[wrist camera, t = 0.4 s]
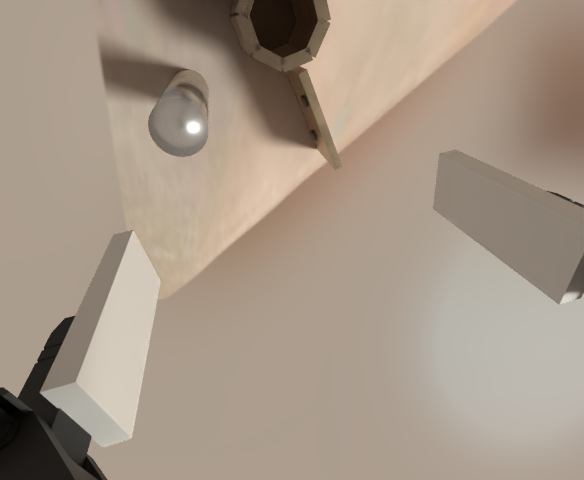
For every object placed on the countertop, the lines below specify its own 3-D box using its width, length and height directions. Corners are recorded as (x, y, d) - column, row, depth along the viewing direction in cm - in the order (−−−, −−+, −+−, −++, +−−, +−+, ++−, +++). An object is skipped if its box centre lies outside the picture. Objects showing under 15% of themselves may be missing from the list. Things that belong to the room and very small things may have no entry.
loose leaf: (281, 67, 33) (295, 75, 27) (291, 62, 33) (306, 69, 27) (315, 151, 39) (332, 171, 33) (323, 147, 38) (342, 166, 33)
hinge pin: (176, 62, 31) (156, 88, 19) (213, 79, 32) (215, 113, 20) (167, 99, 32) (142, 144, 20) (202, 113, 34) (198, 164, 22)
